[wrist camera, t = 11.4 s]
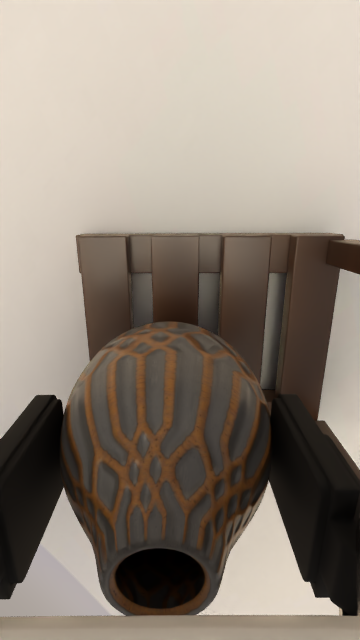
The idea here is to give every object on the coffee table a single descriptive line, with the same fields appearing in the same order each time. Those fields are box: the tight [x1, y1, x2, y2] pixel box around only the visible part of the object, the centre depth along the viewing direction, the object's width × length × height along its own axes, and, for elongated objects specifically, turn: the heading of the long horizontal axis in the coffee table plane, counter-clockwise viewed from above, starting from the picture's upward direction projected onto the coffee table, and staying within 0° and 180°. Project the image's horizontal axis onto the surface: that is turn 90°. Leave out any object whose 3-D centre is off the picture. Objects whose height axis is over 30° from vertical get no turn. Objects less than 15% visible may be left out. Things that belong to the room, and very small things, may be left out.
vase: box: [60, 321, 272, 616], centre depth 10 cm, size 7×7×9 cm
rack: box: [76, 233, 360, 480], centre depth 13 cm, size 14×12×15 cm
